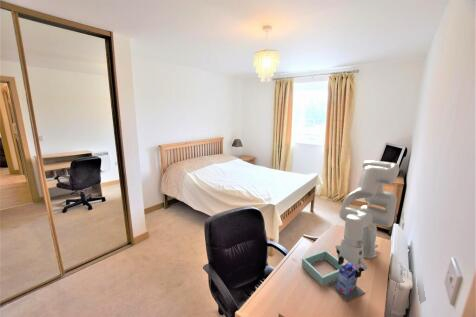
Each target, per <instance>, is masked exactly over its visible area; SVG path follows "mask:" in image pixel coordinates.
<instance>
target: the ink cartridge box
mask: <svg viewBox="0 0 476 317" xmlns="http://www.w3.org/2000/svg"><path fill="white" fill-rule="evenodd" d="M358 268H359V266H358ZM355 271H356V267H355V266H354V265H353V264H351V263H350V262H348V261H347V262H346V263H344V266H342V267H341V268H340V269H339V274H338V279H337V281H338V282H337V289H338V290H339V291H341V292H342V293H343V294H344V295H347V294H348V293H350V292H351V291H352V290H353V289H354V288H355V287H356V286H357V281H358V278H355Z"/></svg>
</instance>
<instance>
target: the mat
mask: <svg viewBox="0 0 476 317" xmlns="http://www.w3.org/2000/svg"><path fill="white" fill-rule="evenodd" d="M337 282H338V280H335V281H332V282H330V283H328V284H329V286H330V287H331V289H333V290H334V291H335V292H336V293H337V294H338V295H339V296H341V297H342V299H344V300H345V301H346V303H348V302H350V301H352V300H355V299H356V298H359V297H360V296H362V295H364V294H365V293H366V291H364V290H363V289H361V288H360V287H359V286H357V285H356V287H355V288H354V289H353V290H352V291H351V292H350V293H348V294H347V295H344V294H343V293H342V292H341V291H339V290H338V289H337Z"/></svg>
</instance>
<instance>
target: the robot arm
mask: <svg viewBox="0 0 476 317" xmlns="http://www.w3.org/2000/svg"><path fill="white" fill-rule="evenodd" d="M399 173H400V166H399V164H398V163H396V162H390V161H381V160H373V159H366V160H364V161H363V162H362V173H361V176H360V178H359V182H358V186H357V188H356V189H354V190H353V191H350V192H349V193H348V194H347V195H346V196H345V197H344V199H343V200H342V204H341V207H340V210H339V218H340V219H341V220H342V221H344V222H345V223H344V224H345V225H344V231H343V232H344V233H343V238H342V240H341V242H340V245H335V247H334V248H335V250H336V251H335V252H336V253H337V259H338V264H339V265H340V264H345V262H344V261H345V260H346V261H347V263H348V262H350V263H351V264H353V265H354V266H355V267H356V271H355V278H357V279H358V278H360V277H362V272H365V271H366V270H367V269H368V268H369V266H368V265H367V264H366V263H365V260H364V259H370V260H373V259H375V258H376V257H377V252H376V251H375V249H376V248H378V247H379V245H378V244H377V243H376V238H377V233H378V228H377V226H376V225H379V226H382V227H385V228H390V227H392V226H393V224H394V220H395V216H396V210H397V209H396V208H397V202H398V197H397V194H396V193H395V192H391V191H388V190H384V185H385V184H386V185H392V184H394V183H395V182H396V179H397V177H398V175H399ZM359 199H361V200H362V199H363V200H364V202H365V203H367V204H369V205H367V204H364V205H361V206H360V207H359V208H356V207H353V206H350V204H351V203H352V202H353V201H357V200H359ZM380 207H381V208H380ZM358 267H359V268H358Z"/></svg>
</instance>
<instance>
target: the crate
mask: <svg viewBox="0 0 476 317" xmlns="http://www.w3.org/2000/svg"><path fill="white" fill-rule="evenodd" d="M324 258H326V259H327V260H328V262H329V264H331V265H332V266H333V267H334V268H336V270H334V271H331V272H329V273H327V274H325V275H322V274H321V272H319V271H318V270H317V269H316V268H315V266H313V265H312V264H314V263H316V262H315V261H317V262H319V261H318V260H320V261H322V260H326V259H324ZM321 259H322V260H321ZM338 259H339V258H338V257H337V258H336V256H334V255H333V254H331V253H330V252H329V251H327V250H326V249H325V250H324V249H323V250H322V251H320V252H319V251H318V252H316V253H313V254H310V255H308V256H304V257H303V258H302V259H301V267H302V268H303V269H305V270H306V272H308V273H309V275H310V276H311V277H312V278H313V279H314V280H316V281H317V283H319V285H320V286H322V285H323V286H326V285H328V284H331V283H333V282H335V281H338V274H339V269H340V268H341V267H342V266H344V265H345V263H343V264H340V265H339V264H338ZM327 260H326V261H327ZM313 262H314V263H313ZM311 263H312V264H311ZM334 280H335V281H334ZM325 284H326V285H325Z"/></svg>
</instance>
